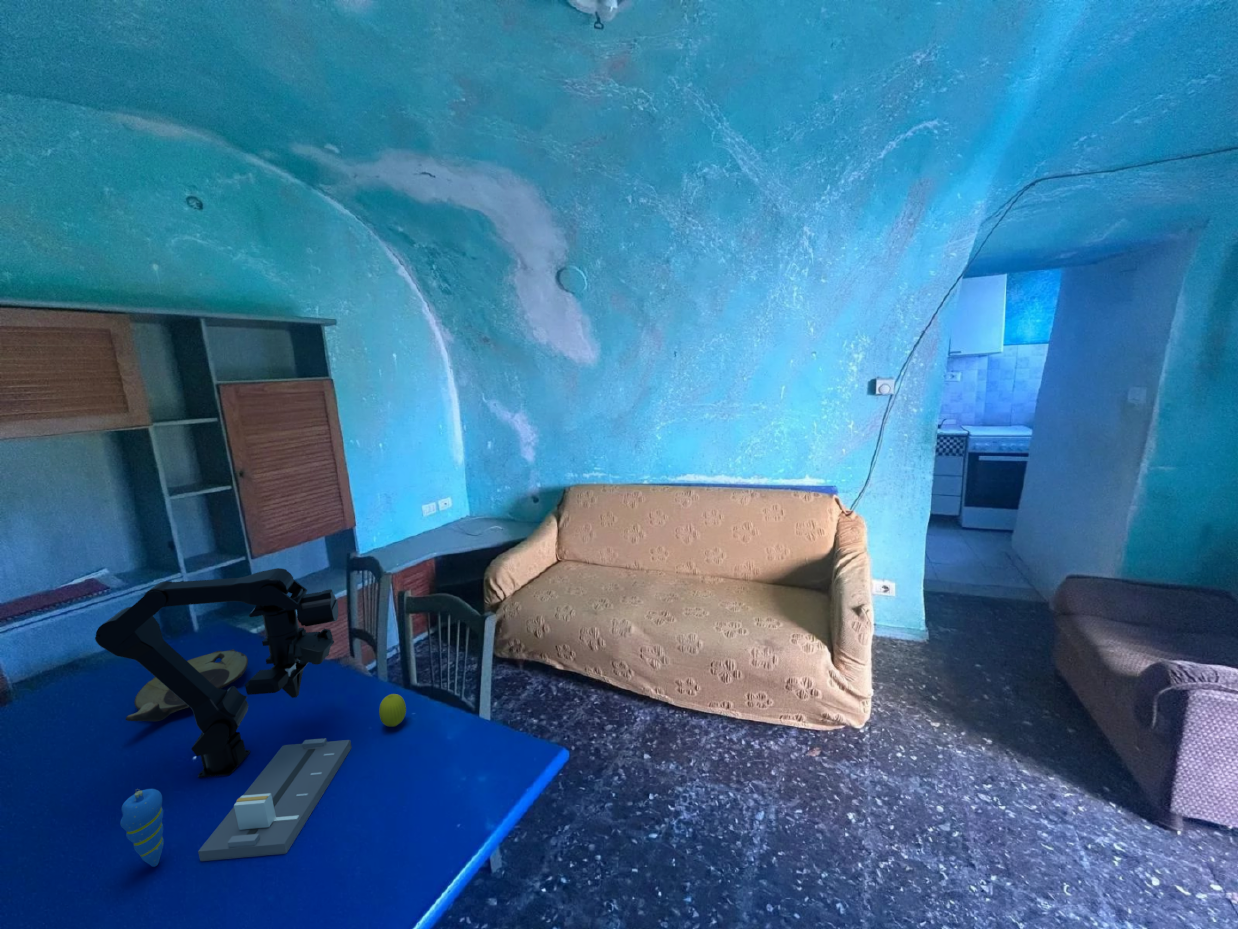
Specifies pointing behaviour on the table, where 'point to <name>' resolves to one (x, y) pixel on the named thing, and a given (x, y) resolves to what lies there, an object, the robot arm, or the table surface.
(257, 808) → the fader tab
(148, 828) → the ornament
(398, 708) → the lemon
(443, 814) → the table surface
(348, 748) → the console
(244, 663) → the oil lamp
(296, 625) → the robot arm
